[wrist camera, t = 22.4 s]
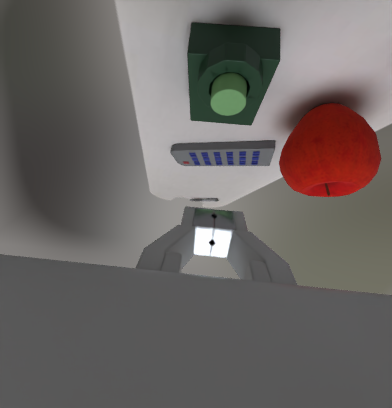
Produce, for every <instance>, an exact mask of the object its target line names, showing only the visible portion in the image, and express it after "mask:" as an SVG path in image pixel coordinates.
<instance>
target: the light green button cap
mask: <svg viewBox="0 0 392 408" xmlns="http://www.w3.org/2000/svg"><path fill="white" fill-rule="evenodd" d="M246 94H247V83H246V80H245V79H244V78H243V76H241V75H240V74H237V73H233V72H228V73H224V74H221V75H220V76H218V77H217V78H216V79H215V80H214V82H213V84H212V92H211V107H212V109H213V110H214V111H215V112H216V113H218V114H220V115H225V116H230V115H235V114H237V113H239V112H240V111H242V110H243V108H244V107H245V105H246Z"/></svg>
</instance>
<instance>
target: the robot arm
mask: <svg viewBox="0 0 392 408" xmlns="http://www.w3.org/2000/svg"><path fill="white" fill-rule="evenodd" d="M193 255H204V256H213V257H221V258H227V260H228V261H229V263H230V264H231V266H232V267H233V269H234V270H235V271H236V273H237V274H238V276H239V277H240V279H232V278H223V277H213V276H203V275H194V274H184V273H181V269H182V268H183V267H184V266H185V265H186V264H187V262H188V261H189V260H190V259H191V258H192V257H193ZM0 408H392V295H386V294H376V293H367V292H356V291H348V290H337V289H327V288H318V287H308V286H299V285H297V283H296V281H295V278H294V276H293V273H292V271H291V269H290V266H289V264H288V263H287V262H286V261H285V260H284V259H282V258H281V257H280V256H279V255H278V254H276V253H275V252H274V251H273V250H272V249H271V248H269V247H268V246H267V245H266V244H265V243H263V242H262V241H261V240H259V238H258V237H256V236H255V235H254V234H253V233H252V232H248V230H247V226H246V222H245V218H244V214H243V212H241V211H225V210H214V209H206V208H198V207H196V208H195V207H188V206H186V207H185V209H184V213H183V218H182V222H181V225H177V226H176V227H174V228H173V229H171V230H170V231H168V232H167V233H166V234H164V235H163V236H161V237H160V238H158V239H157V240H155V241H154V242H153V243H151V244H150V245H148V246H147V247H145V248H144V250H143V252H142V254H141V257H140V259H139V261H138V264H137V266H136V268H126V267H117V266H107V265H97V264H87V263H78V262H68V261H58V260H49V259H39V258H30V257H21V256H11V255H2V254H0Z"/></svg>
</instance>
